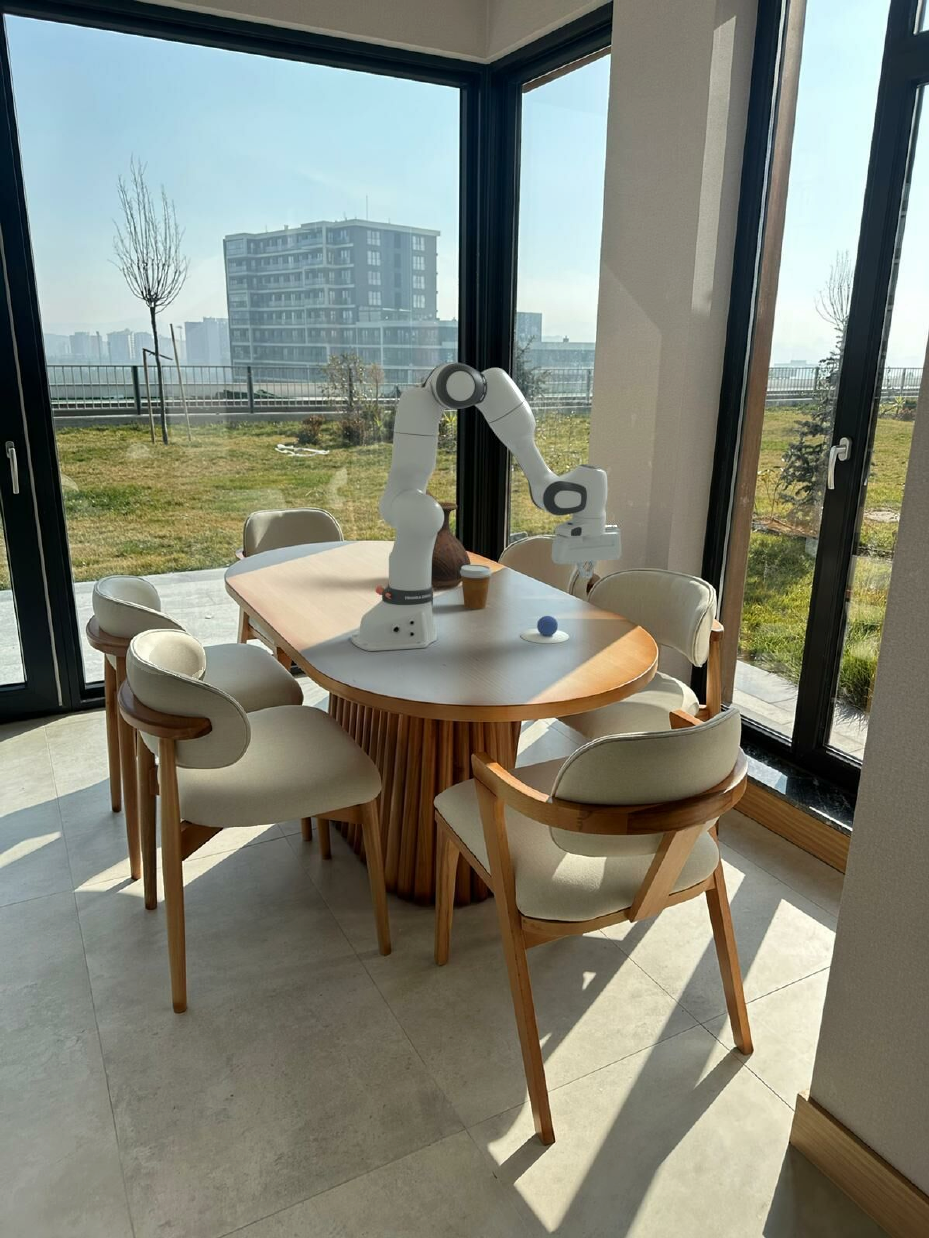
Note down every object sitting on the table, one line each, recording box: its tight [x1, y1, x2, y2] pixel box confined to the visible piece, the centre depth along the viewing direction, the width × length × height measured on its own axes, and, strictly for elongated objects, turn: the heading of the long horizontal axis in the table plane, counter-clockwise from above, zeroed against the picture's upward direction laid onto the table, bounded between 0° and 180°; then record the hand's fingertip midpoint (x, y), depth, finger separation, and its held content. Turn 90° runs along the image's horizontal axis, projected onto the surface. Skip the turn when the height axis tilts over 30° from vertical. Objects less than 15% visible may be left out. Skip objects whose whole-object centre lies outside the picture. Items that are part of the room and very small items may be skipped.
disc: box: [520, 628, 570, 645], centre depth 233 cm, size 13×13×1 cm
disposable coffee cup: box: [460, 564, 493, 610], centre depth 259 cm, size 10×10×12 cm
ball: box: [536, 615, 559, 636], centre depth 233 cm, size 6×6×6 cm
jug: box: [426, 489, 472, 590], centre depth 283 cm, size 22×22×30 cm
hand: (585, 577), depth 234 cm, fingers closed
